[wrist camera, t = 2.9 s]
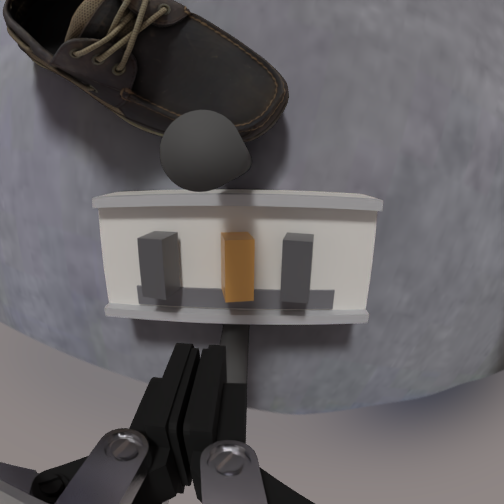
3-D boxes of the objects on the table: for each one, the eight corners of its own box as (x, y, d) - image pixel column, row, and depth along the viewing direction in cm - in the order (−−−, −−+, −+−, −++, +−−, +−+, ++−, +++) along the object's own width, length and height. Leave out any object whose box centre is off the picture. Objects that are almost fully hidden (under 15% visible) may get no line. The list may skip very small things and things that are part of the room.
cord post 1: (252, 147, 26) (243, 109, 8) (251, 175, 26) (241, 192, 9) (223, 147, 26) (160, 112, 8) (223, 174, 26) (159, 192, 9)
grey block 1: (177, 232, 23) (161, 239, 20) (180, 287, 24) (166, 300, 22) (154, 230, 23) (137, 238, 21) (158, 284, 24) (142, 296, 22)
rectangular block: (247, 231, 23) (254, 239, 21) (247, 287, 24) (253, 300, 22) (220, 232, 23) (224, 240, 20) (221, 288, 24) (225, 302, 22)
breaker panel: (361, 194, 26) (383, 200, 22) (351, 298, 29) (367, 322, 24) (117, 191, 27) (92, 197, 22) (126, 293, 29) (105, 315, 24)
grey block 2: (314, 234, 23) (312, 242, 20) (309, 290, 24) (308, 303, 22) (286, 232, 23) (282, 239, 21) (284, 288, 24) (279, 300, 22)
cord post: (249, 311, 30) (242, 471, 12) (249, 332, 30) (242, 493, 13) (224, 310, 30) (192, 467, 12) (224, 332, 30) (197, 490, 13)
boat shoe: (246, 179, 27) (241, 187, 16) (17, 79, 23) (-48, 65, 13) (304, 74, 24) (332, 25, 14) (62, -3, 21) (11, -39, 10)
